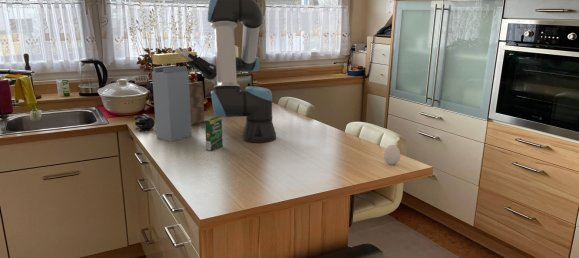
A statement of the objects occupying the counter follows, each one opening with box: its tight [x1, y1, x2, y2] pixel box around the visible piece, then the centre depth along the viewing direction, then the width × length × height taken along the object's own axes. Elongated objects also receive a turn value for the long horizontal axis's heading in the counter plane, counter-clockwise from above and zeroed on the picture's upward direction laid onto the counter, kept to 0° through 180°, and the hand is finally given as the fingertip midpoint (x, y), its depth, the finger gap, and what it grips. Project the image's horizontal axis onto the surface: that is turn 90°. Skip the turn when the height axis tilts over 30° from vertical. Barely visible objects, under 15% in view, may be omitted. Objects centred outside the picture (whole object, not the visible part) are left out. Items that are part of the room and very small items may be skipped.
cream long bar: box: [151, 51, 198, 66], centre depth 198 cm, size 22×4×4 cm, turn 145°
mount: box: [151, 64, 192, 143], centre depth 200 cm, size 12×10×32 cm
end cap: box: [134, 113, 156, 133], centre depth 217 cm, size 10×7×7 cm
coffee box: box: [204, 116, 224, 152], centre depth 184 cm, size 8×3×13 cm, turn 150°
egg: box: [383, 144, 401, 166], centre depth 166 cm, size 6×6×8 cm
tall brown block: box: [189, 79, 205, 126], centre depth 229 cm, size 10×10×21 cm
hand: (179, 51), depth 199 cm, fingers closed on cream long bar, 4 cm apart
